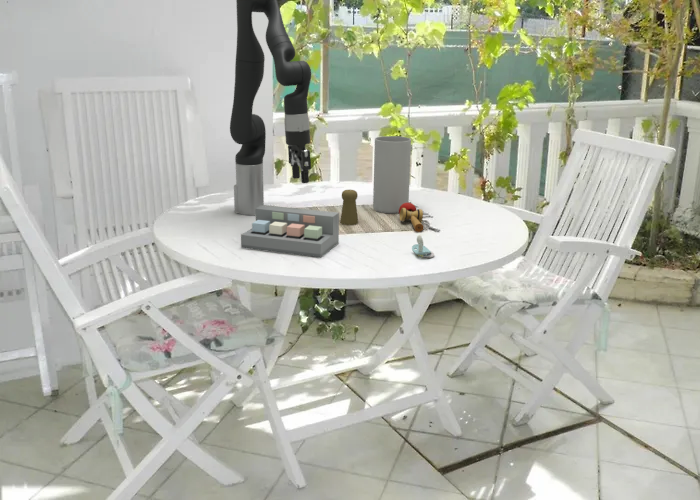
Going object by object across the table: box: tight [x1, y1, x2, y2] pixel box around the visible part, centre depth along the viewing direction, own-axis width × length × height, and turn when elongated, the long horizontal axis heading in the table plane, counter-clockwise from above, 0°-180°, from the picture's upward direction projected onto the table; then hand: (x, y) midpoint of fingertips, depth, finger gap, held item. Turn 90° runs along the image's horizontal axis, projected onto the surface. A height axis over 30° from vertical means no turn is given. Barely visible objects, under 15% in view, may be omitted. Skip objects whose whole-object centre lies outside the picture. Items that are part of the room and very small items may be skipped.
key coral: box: [287, 224, 305, 239], centre depth 220 cm, size 4×4×4 cm
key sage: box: [304, 225, 322, 241], centre depth 218 cm, size 4×4×4 cm
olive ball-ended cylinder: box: [339, 189, 359, 226], centre depth 248 cm, size 6×6×11 cm
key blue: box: [251, 220, 270, 235], centre depth 223 cm, size 4×4×4 cm
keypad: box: [240, 204, 340, 259], centre depth 223 cm, size 25×15×10 cm, turn 71°
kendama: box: [398, 202, 424, 233], centre depth 248 cm, size 8×6×18 cm
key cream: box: [269, 222, 287, 237], centre depth 222 cm, size 4×4×4 cm
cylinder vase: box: [372, 135, 412, 214], centre depth 263 cm, size 12×12×25 cm
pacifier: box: [411, 234, 435, 259], centre depth 217 cm, size 7×6×6 cm
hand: (300, 180), depth 236 cm, fingers open, 8 cm apart
